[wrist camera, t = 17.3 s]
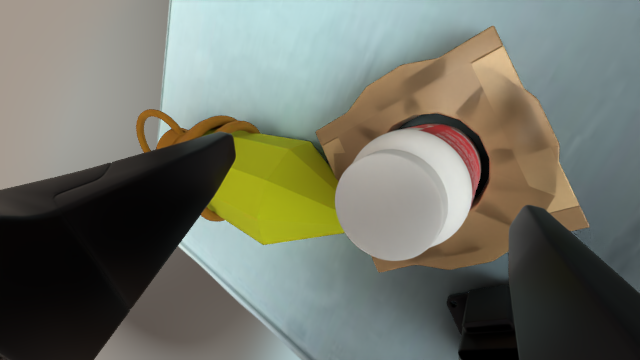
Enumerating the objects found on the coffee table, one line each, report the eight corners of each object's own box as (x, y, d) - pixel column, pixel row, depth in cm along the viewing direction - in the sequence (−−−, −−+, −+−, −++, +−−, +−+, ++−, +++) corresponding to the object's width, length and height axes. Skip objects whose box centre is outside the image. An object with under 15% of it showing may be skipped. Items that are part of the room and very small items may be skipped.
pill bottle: (445, 104, 20) (399, 100, 11) (502, 177, 19) (504, 239, 10) (376, 156, 24) (296, 187, 14) (423, 221, 23) (370, 298, 13)
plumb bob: (406, 148, 23) (169, 82, 31) (370, 211, 16) (75, 103, 24) (382, 236, 28) (182, 158, 36) (345, 314, 20) (107, 195, 29)
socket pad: (593, 224, 18) (605, 240, 16) (389, 269, 25) (379, 283, 23) (494, 18, 18) (493, 6, 16) (322, 122, 25) (306, 123, 23)
